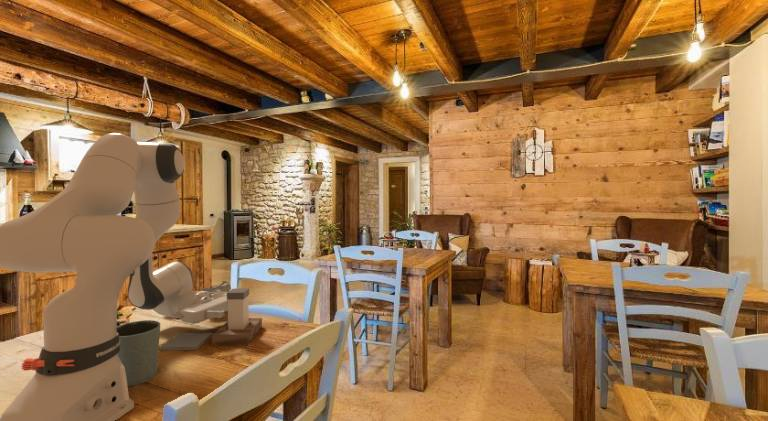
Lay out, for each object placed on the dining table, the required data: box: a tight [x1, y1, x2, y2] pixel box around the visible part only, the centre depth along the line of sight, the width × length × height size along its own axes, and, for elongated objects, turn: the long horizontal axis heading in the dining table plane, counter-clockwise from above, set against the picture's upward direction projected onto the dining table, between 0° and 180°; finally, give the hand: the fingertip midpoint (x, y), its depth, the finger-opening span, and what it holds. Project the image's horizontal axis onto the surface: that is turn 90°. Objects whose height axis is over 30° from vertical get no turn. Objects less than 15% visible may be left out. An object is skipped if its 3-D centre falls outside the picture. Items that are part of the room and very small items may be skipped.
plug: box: [227, 287, 250, 330], centre depth 110 cm, size 5×5×14 cm
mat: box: [159, 332, 213, 352], centre depth 105 cm, size 10×10×1 cm
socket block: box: [211, 317, 263, 346], centre depth 111 cm, size 14×10×3 cm
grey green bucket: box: [117, 319, 161, 387], centre depth 85 cm, size 10×10×12 cm
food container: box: [201, 280, 232, 292], centre depth 134 cm, size 12×6×10 cm, turn 168°
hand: (233, 309), depth 111 cm, fingers open, 8 cm apart
